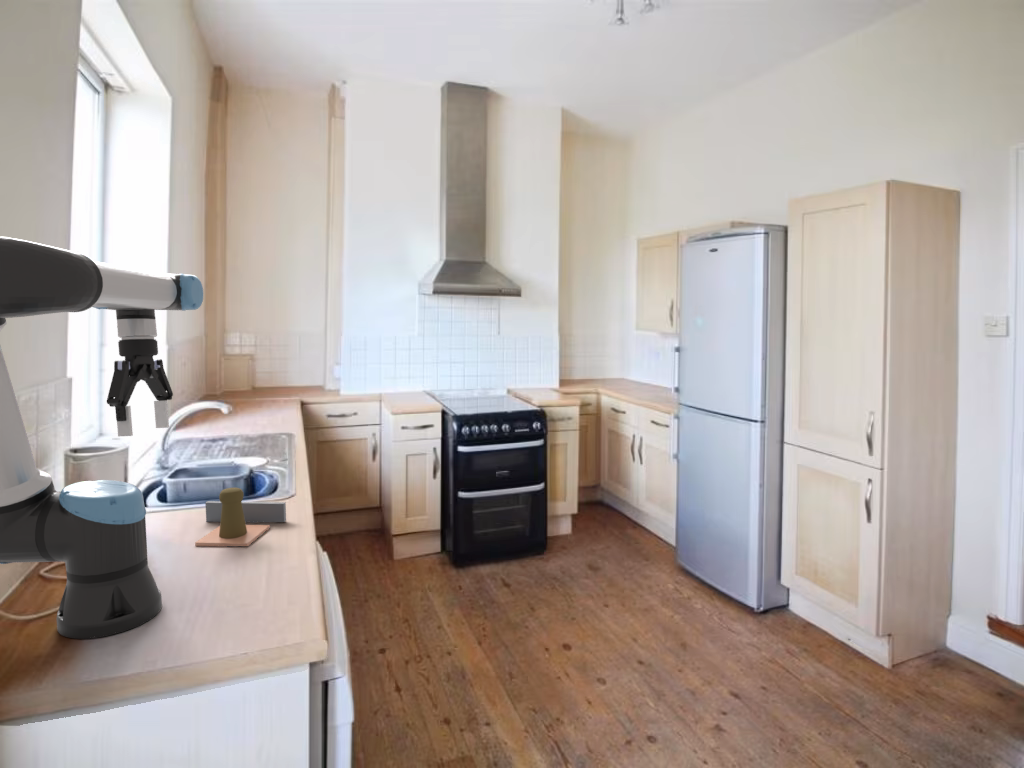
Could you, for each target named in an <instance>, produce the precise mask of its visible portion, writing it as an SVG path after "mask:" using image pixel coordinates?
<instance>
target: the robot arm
mask: <svg viewBox="0 0 1024 768" xmlns="http://www.w3.org/2000/svg"><path fill="white" fill-rule="evenodd" d="M203 300H204V289H203V284H202V282H201V280H200V278H199V277H198V276H196V275H195V274H185V273H179V274H178V273H177V274H176V273H167V272H166V273H165V272H160V271H156V270H154V271H153V270H148V269H142V268H137V267H130V266H124V265H120V264H112V263H106V262H100V261H95V260H93V259H92V258H91V257H90V256H88V255H86V254H84V253H81V252H79V251H74V250H68V249H66V248H65V249H64V248H60V247H55V246H52V245H47V244H42V243H38V242H33V241H29V240H24V239H19V238H14V237H13V238H12V237H8V236H0V332H1V331H2V330H3V329H4V327H5V326H6V325H7V319H8V318H9V319H10V318H23V317H24V318H25V317H34V316H40V315H41V316H42V315H49V314H50V315H51V314H58V313H59V314H60V313H79V312H81V313H82V312H84V311H87V310H90V309H91V308H95V309H96V310H111V311H115V314H116V315H115V316H116V324H117V325H116V326H117V327H116V328H117V337H119V338H121V339H119V340H118V341H117V344H118V355H119V356H120V357H122V358H123V357H124V360H122V359H121V360H115V361H114V362H113V365H114V367H113V369H114V370H113V375H112V378H111V382H110V387H109V390H108V393H107V394H108V395H107V399H106V404H107V405H108V406H109V407H112V408H113V407H114V408H115V419H116V423H117V424H116V425H117V426H116V427H117V437H132V436H133V433H134V432H133V421H132V409H131V405H128V404H129V403H130V402H129V401H130V399H131V397H132V395H133V392H134V390H135V388H136V386H137V383H138V382H140V381H142V382H145V384H146V385H147V387H148V388H149V389H150V392H151V393H152V395H153V397H154V398H155V400H154V401H153V406H154V418H155V419H154V420H155V428H156V429H164V428H165V429H167V428H168V429H169V428H170V424H169V423H170V421H169V409H168V408H169V407H168V401H171V400H172V399H173V396H174V393H173V390H172V387H171V384H170V382H169V380H168V379H169V378H168V377H167V373H166V372H165V369H164V362H163V360H162V359H159V358H156V359H154V356H158V355H159V347H158V340H157V339H156V337H157V336H158V334H157V333H158V332H157V321H156V312H155V310H156V311H181V312H182V311H184V312H186V311H196V310H198V309H199V308H201V306H202V305H203ZM4 356H5V355H4V354H3V351H2V347H1V345H0V564H1V565H6V564H14V563H49V562H50V563H54V562H56V563H57V562H63V563H64V565H65V574H66V585H65V587H64V591H63V594H62V598H61V601H60V604H59V608H58V610H57V614H56V630H57V632H58V634H60V635H61V636H63V637H66V638H69V639H75V640H76V639H77V640H79V639H80V640H81V639H84V640H85V639H87V640H88V639H94V638H95V639H97V638H102V637H108V636H113V635H117V634H121V633H122V632H126V631H129V630H132V629H134V628H136V627H139V626H141V625H143V624H144V623H146V622H148V621H150V620H151V619H153V618H154V617H155V616H157V614H159V613H160V611H161V610H162V606H163V604H162V602H163V600H162V591H161V590H160V589H159V587H158V585H157V582H156V580H155V578H154V576H153V574H152V572H151V570H150V568H149V562H148V561H149V560H148V543H147V541H148V539H147V528H146V527H147V522H146V514H147V509H146V507H145V502H144V495H143V492H142V490H141V489H140V488H138V486H136V485H135V484H133V483H130V482H126V481H121V480H112V479H97V480H93V481H92V480H85V481H78V482H74V483H72V484H68V485H66V486H64V487H63V488H62V489H61V491H57V490H56V489H55V485H54V482H53V479H52V475H51V474H50V473H48V472H47V471H44V470H42V469H39V468H38V467H37V464H36V461H35V457H34V454H33V451H32V447H31V444H30V440H29V436H28V433H27V431H26V428H25V424H24V420H23V417H22V414H21V409H20V407H19V404H18V400H17V397H16V393H15V391H14V387H13V383H12V380H11V376H10V373H9V371H8V366H7V364H6V363H7V362H6V360H5V357H4Z"/></svg>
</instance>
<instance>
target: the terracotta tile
mask: <svg viewBox="0 0 1024 768" xmlns="http://www.w3.org/2000/svg"><path fill="white" fill-rule="evenodd" d="M269 528H271V525H270V524H246V529H247V533H246V534H245V535H243V536H241V537H237V538H231V539H225V538H220V537H219V531H220V525H219V526H217V527H216V528H214V529H213V530H212V531H210V532H209V533H207V534H206V535H204V536H203V537H201V538H200V539H198V540H197V541H195V543H194V544H195V545H194V546H195V547H227V546H248V547H250V545H252V544H253V543H254V542H255V541H257V540H258V539H259V538H260V537H261V536H262V535H264V534H265V533H266V532H267V531H269V530H270V529H269ZM266 530H267V531H266ZM265 531H266V532H265ZM264 532H265V533H264ZM263 533H264V534H263ZM261 534H262V535H261ZM260 535H261V536H260ZM259 536H260V537H259ZM258 537H259V538H258ZM257 538H258V539H257ZM253 541H254V542H253ZM252 542H253V543H252ZM251 543H252V544H251Z"/></svg>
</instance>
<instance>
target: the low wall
mask: <svg viewBox="0 0 1024 768" xmlns="http://www.w3.org/2000/svg"><path fill="white" fill-rule="evenodd" d="M204 503H205V504H204V505H205V520H206V521H205V522H206V523H207V522H209V523H216V522H217V523H220V521H221V511H222V503H221V502H220V500H218V501H217V500H215V501H214V500H208V501H206V502H204ZM241 503H242V508H243V513H244V518H245V523H257V522H285V521H286V522H287V513H286V512H287V509H286V508H287V507H286V506H287V503H286V501H285V502H284V501H283V502H282V501H281V502H279V501H278V502H276V501H241ZM286 522H285V523H286Z"/></svg>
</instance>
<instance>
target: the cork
mask: <svg viewBox="0 0 1024 768" xmlns="http://www.w3.org/2000/svg"><path fill="white" fill-rule="evenodd" d="M244 494H245V493H244V491H243V490H242V488H239V487H227V488H224V489H222V490H221V491H220V493H219V496H218V497H219V501H220V502H221V503H222V511H221V521H220V522H219V526H220V531H219V537H220V538H225V539H231V538H237V537H241V536H243V535H245V534H246V533H247V529H246V525H247V523H246V522H245V518H244V513H243V508H242V503H241V502H243V500H244Z"/></svg>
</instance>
